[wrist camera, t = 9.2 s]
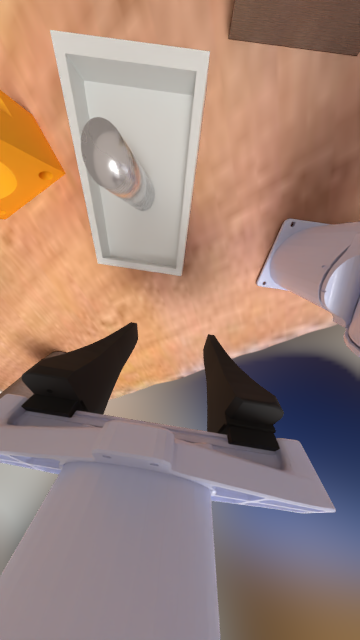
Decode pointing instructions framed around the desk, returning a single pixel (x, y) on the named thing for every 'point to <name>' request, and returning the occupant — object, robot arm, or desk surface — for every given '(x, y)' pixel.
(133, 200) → the pin
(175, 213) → the tray
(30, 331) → the desk surface
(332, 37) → the socket block
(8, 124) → the pipe clamp
